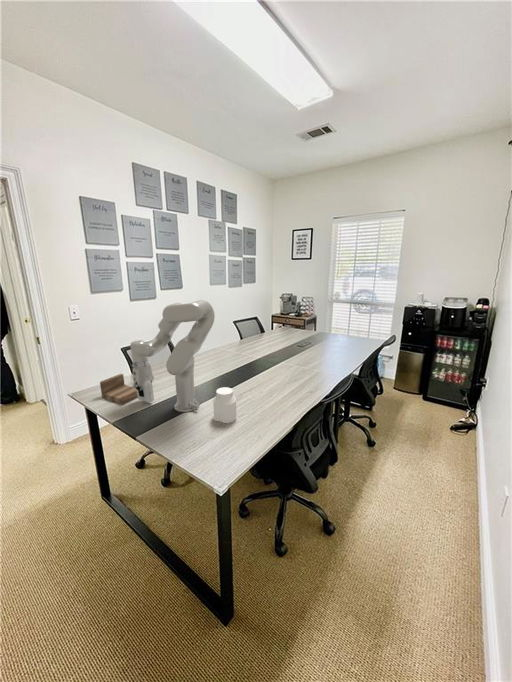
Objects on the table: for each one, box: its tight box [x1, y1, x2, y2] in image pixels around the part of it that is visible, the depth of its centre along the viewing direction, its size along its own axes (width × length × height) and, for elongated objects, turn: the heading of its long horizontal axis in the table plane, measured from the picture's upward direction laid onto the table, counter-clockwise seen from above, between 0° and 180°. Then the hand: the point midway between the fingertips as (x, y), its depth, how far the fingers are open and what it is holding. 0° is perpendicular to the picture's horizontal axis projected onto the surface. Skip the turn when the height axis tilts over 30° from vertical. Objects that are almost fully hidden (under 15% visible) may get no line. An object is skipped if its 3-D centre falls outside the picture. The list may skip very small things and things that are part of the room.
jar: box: [212, 386, 238, 424], centre depth 140 cm, size 12×10×15 cm
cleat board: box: [99, 373, 138, 405], centre depth 163 cm, size 18×14×10 cm
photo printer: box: [136, 380, 155, 403], centre depth 154 cm, size 10×4×12 cm, turn 61°
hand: (145, 394), depth 155 cm, fingers closed on photo printer, 4 cm apart
